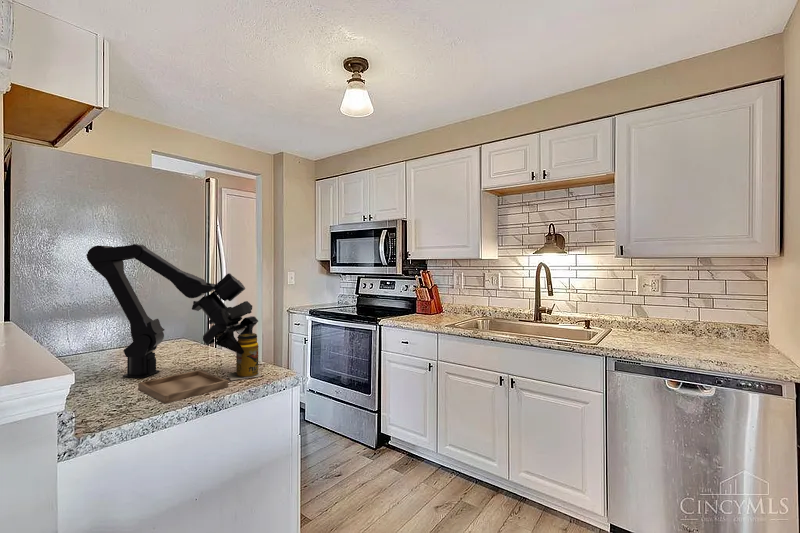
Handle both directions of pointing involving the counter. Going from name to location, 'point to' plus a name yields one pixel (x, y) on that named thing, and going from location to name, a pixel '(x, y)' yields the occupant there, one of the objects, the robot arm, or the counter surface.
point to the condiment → (246, 358)
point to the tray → (182, 386)
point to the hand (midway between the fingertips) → (249, 350)
